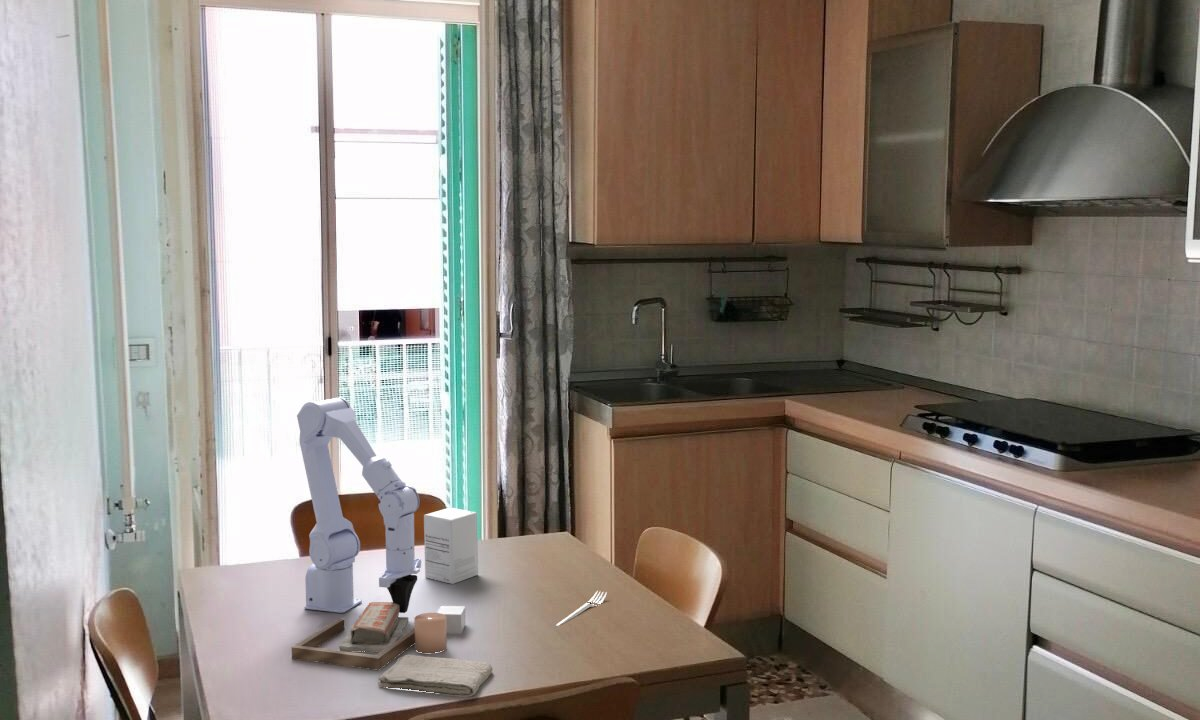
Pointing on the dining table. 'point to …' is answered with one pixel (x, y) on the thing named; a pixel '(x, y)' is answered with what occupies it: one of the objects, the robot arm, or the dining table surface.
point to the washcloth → (436, 675)
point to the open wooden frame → (311, 653)
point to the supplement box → (451, 545)
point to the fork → (585, 606)
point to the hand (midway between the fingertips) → (401, 611)
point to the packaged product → (375, 628)
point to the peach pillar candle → (430, 632)
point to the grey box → (454, 618)
